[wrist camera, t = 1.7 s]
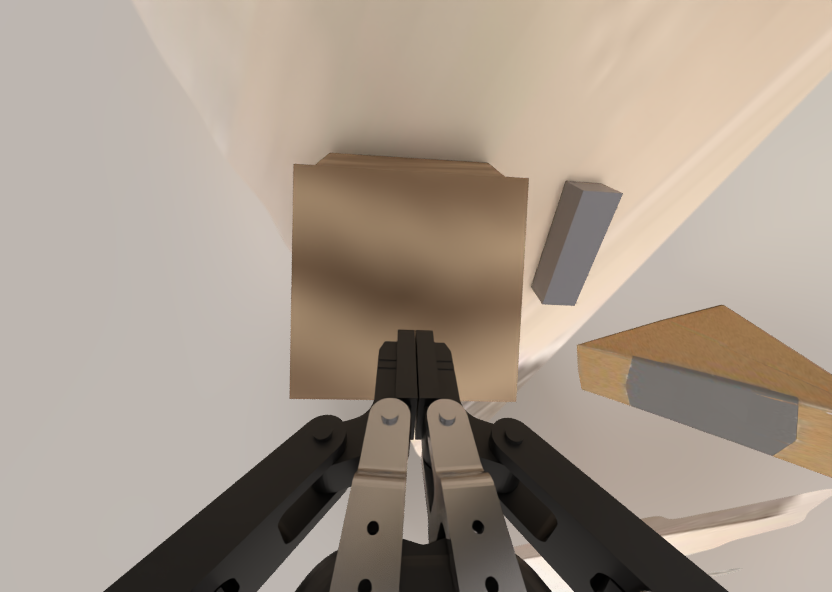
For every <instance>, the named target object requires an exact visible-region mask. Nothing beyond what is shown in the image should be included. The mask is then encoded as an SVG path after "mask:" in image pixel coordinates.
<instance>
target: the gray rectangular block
mask: <svg viewBox="0 0 832 592" xmlns="http://www.w3.org/2000/svg"><path fill="white" fill-rule="evenodd" d="M622 194H623V193H621V192H619V191H617V190H614V189H612V188H610V187H608V186H605V185H603V184H599V183H585V182H571V181H566V182H565V185H564V188H563V191H562V194H561V197H560V200H559V203H558V206H557V209H556V212H555V215H554V219H553V222H552V225H551V228H550V231H549V234H548V237H547V240H546V243H545V246H544V249H543V252H542V255H541V258H540V262H539V265H538V268H537V271H536V274H535V277H534V280H533V283H532V286H531V288H532V289H533V291H534V292H535V294H536V295H537V297H538V298H539V300H540V301H541V303H542V304H548V305H571V306H575V303H576V301H577V299H578V297H579V294H580V292H581V290H582V287H583V285H584V283H585V280H586V278H587V276H588V273H589V271H590V269H591V266H592V264H593V262H594V259H595V257H596V255H597V252H598V250H599V248H600V246H601V243H602V241H603V239H604V236H605V234H606V232H607V229H608V227H609V225H610V222H611V220H612V218H613V215H614V213H615V211H616V208H617V206H618V204H619V201H620V199H621V197H622Z"/></svg>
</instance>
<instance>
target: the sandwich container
mask: <svg viewBox="0 0 832 592" xmlns="http://www.w3.org/2000/svg"><path fill="white" fill-rule="evenodd" d="M577 361H578V362H577V363H578V373H579V378H580V383H581V388H582V389H583V390H585V391H588V392H591V393H594V394H597V395H601V396H603V397H607V398H609V399H612V400H615V401H618V402H621V403H624V404H627V405H630V406H633V407H636V408H639V409H641V410H644V411H647V412H650V413H653V414H656V415H659V416H661V417H664V418H667V419H670V420H673V421H676V422H678V423H681V424H684V425H687V426H690V427H692V428H695V429H698V430H701V431H703V432H706V433H709V434H712V435H715V436H718V437H721V438H724V439H727V440H729V441H733V442H735V443H738V444H741V445H744V446H746V447H749V448H752V449H755V450H757V451H760V452H763V453H766V454H768V455H771V456H774V457H776V458H779V459H782V460H785V461H788V462H791V463H793V464H796V465H799V466H801V467H804V468H807V469H809V470H813V471H815V472H818V473H820V474H823V475H826V476H829V477H831V478H832V374H830V373H829V372H827V371H826V370H824V369H823V368H821V367H819V366H818V365H816V364H815V363H813V362H812V361H810V360H809V359H807V358H805V357H804V356H802V355H801V354H799V353H798V352H796V351H795V350H793V349H791V348H790V347H788V346H787V345H785V344H784V343H782V342H781V341H779V340H777V339H776V338H774V337H773V336H771V335H769V334H768V333H767V332H765V331H763V330H762V329H760V328H759V327H757V326H755V325H754V324H752V323H751V322H749V321H748V320H746V319H745V318H743V317H741V316H740V315H738V314H737V313H735V312H734V311H732V310H731V309H729V308H727V307H726V306H724V305H718V306H714V307H710V308H706V309H702V310H698V311H694V312H690V313H686V314H683V315H679V316H675V317H671V318H667V319H663V320H659V321H656V322H653V323H649V324H646V325H642V326H639V327H636V328H632V329H629V330H626V331H622V332H619V333H615V334H612V335H608V336H605V337H602V338H598V339H595V340H591V341H588V342H585V343H582V344H578V345H577Z"/></svg>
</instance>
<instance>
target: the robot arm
mask: <svg viewBox="0 0 832 592" xmlns="http://www.w3.org/2000/svg"><path fill="white" fill-rule="evenodd" d="M414 429H415V439H416V440H422V456H421V465H422V473H423V481H424V489H425V498H426V506H427V514H428V540H429V544H425V545H422V544H418V543H414V542H412V541H408V540H405V539H402V538H403V522H404V507H405V492H406V477H407V460H408V457H409V449H410V440H413V439H414ZM348 487H351V491H350V495H349V500H348V505H347V510H346V515H345V519H344V524H343V529H342V534H341V539H340V543H339V548H338V550H337V551H335V552H333V553H332V554H330V555H329V556H327V557H326V558H325V559H324V560H322V561H321V562H320V563H319V564H318V565H317V566H316V567H315V568H314V569H313V570H312V571H311V572H310V573H309V574H308V575H307V576H306V578H305V579H304V580H303V582H302V583H301V584H300V585H299V587H298V588H297V590H296V591H295V592H552V591H551V590H550V589H549V588H548V586H547V585H546V584H545V583H544V582H543V580H542V579H541V578H540V577H539V576H538V574H537V573H536V572H535V571H534V570H533V569H532V568H531V567H530V566H529V565H528V564H527V563H526V562H525V561H524V560H523V559H521V558H520V557H519V556H517V555H516V554H515V551H514V548H513V545H512V541H511V538H510V535H509V532H508V528H507V525H506V522H505V519H504V516H505V517H506V518H507V519H508V520H509V521H510V522H511V523H512V524H513V526H514V527H515V528H516V529H517V530H518V531H519V532H520V533H521V534H522V535H523V536H524V537H525V539H526V540H527V541H528V542H529V543H530V544H531V545H532V546H533V547H534V548H535V549H536V551H537V552H538V553H539V554H540V555H541V556H542V557H543V558H544V559H545V560H546V561H547V563H548V564H549V565H550V566H551V567H552V568H553V569H554V570H555V571H556V572H557V573H558V575H559V576H560V577H561V578H562V579H563V580H564V581H565V582H566V583H567V584H568V585H569V587H570V588H571V589H572V590H573V591H574V592H728V591H727V590H726V589H725V588H723V587H722V586H721V585H720V584H718V583H717V582H716V581H715V580H713V579H712V578H711V577H710V576H709V575H708V574H706V573H705V572H704V571H703V570H701V569H700V568H699V567H698V566H697V565H695V564H694V563H693V562H692V561H690V560H689V559H688V558H687V557H686V556H684V555H683V554H682V553H681V552H680V551H678V550H677V549H676V548H675V547H674V546H672V545H671V544H670V543H669V542H667V541H666V540H665V539H664V538H663V537H661V536H660V535H659V534H658V533H656V532H655V531H654V530H653V529H652V528H650V527H649V526H648V525H647V524H646V523H644V522H643V521H642V520H641V519H639V518H638V517H637V516H636V515H635V514H633V513H632V512H631V511H630V510H628V509H627V508H626V507H625V506H624V505H622V504H621V503H620V502H619V501H617V500H616V499H615V498H614V497H613V496H611V495H610V494H609V493H608V492H607V491H605V490H604V489H603V488H601V487H600V486H599V485H598V484H597V483H596V482H594V481H593V480H592V479H591V478H590V477H588V476H587V475H586V474H584V473H583V472H582V471H581V470H580V469H579V468H577V467H576V466H575V465H574V464H572V463H571V462H570V461H569V460H567V459H566V458H565V457H564V456H563V455H561V454H560V453H559V452H558V451H557V450H555V449H554V448H553V447H552V446H551V445H549V444H548V443H547V442H546V441H545V440H543V439H542V438H541V437H540V436H538V435H537V434H536V433H535V432H533V431H532V430H531V429H530V428H528V427H527V426H526V425H525V424H524V423H522V422H520V421H518V420H516V419H512V418H502V419H500V420H498V421H496V422H495V423H494V424H492V423H489V422H486V421H483V420H480V419H477V418H475V417H473V416H472V415H470V414H469V413H468V412H467V411H466V410H465V409H464V408H463V406H462V404H461V401H460V397H459V391H458V386H457V381H456V375H455V371H454V364H453V359H452V354H451V350H450V349H449V348H448V346H447V345H446V344H445V343H438V342H434V336H433V330H416V331H415V330H401V329H398V335H397V341H385V342H384V343H383V345H382V346H381V347H380V349H379V355H378V365H377V375H376V385H375V395H374V402H373V404H372V406H371V408H370V409H369V410H368V411H367V412H366V413H365V414H363V415H362V416H360V417H357V418H355V419H351V420H348V421H344V422H343V421H342V420H341V419H340V418H338V417H336V416H333V415H323V416H318V417H316V418H314V419H312V420H311V421H310V422H308V423H307V424H306V425H304V426H303V427H302V428H301V429H300V430H298V431H297V432H296V433H295V434H294V435H292V436H291V437H290V438H289V439H288V440H286V441H285V442H284V443H283V444H281V445H280V446H279V447H278V448H277V449H275V450H274V451H273V452H272V453H271V454H269V455H268V456H267V457H266V458H265V459H263V460H262V461H261V462H260V463H258V464H257V465H256V466H255V467H254V468H253V469H251V470H250V471H249V472H248V473H246V474H245V475H244V476H243V477H242V478H240V479H239V480H238V481H237V482H235V484H233V485H232V486H231V487H229V488H228V489H227V490H226V491H225V492H223V493H222V494H221V495H220V496H219V497H217V498H216V499H215V500H214V501H213V502H211V503H210V504H209V505H208V506H206V508H204V509H203V510H202V511H200V512H199V513H198V514H197V515H196V516H194V517H193V518H192V519H191V520H189V521H188V522H187V523H186V524H185V525H183V526H182V527H181V528H180V529H179V530H177V531H176V532H175V533H174V534H173V535H171V536H170V537H169V538H168V539H166V541H164V542H163V543H162V544H160V545H159V546H158V547H157V548H156V549H154V550H153V551H152V552H151V553H150V554H149V555H147V556H146V557H145V558H143V559H142V560H141V561H140V562H139V563H137V564H136V565H135V566H134V567H133V568H131V569H130V570H129V571H128V572H127V573H125V574H124V575H123V576H122V577H120V578H119V579H118V580H117V581H116V582H114V583H113V584H112V585H111V586H110V587H108V588H107V589H106V590H105V591H104V592H257V591H258V590H259V589H260V587H261V586H262V585H263V584H264V583H265V582H266V581H267V580H268V578H269V577H270V576H271V575H272V574H273V573H274V572H275V571H276V569H277V568H278V567H279V566H280V565H281V564H282V563H283V562H284V560H285V559H286V558H287V557H288V556H289V555H290V554H291V552H292V551H293V550H294V549H295V548H296V546H298V545H299V543H300V542H301V541H302V540H303V539H304V538H305V537H306V535H307V534H308V533H309V532H310V531H311V530H312V529H313V528H314V527H315V525H316V524H317V523H318V522H319V521H320V520H321V519H322V518H323V516H324V515H325V514H326V513H327V512H328V511H329V509H330V508H331V507H332V506H333V505H334V504H335V503H336V502H337V501H338V499H339V498H340V497H341V496H342V495H343V494H344V493H345V491H346V490H347V488H348Z"/></svg>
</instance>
